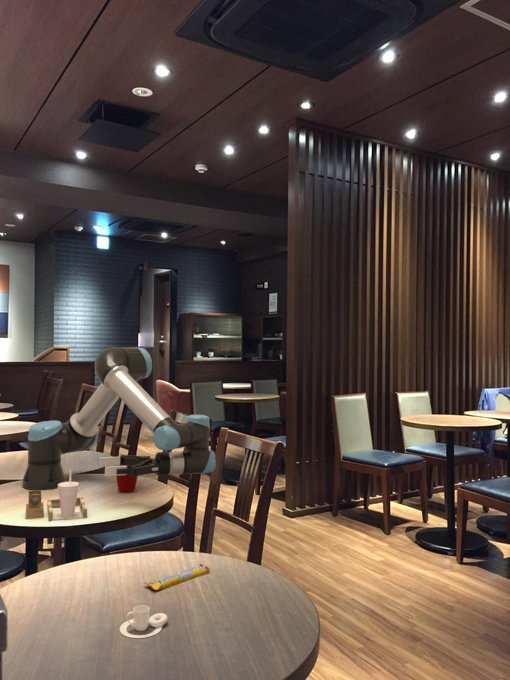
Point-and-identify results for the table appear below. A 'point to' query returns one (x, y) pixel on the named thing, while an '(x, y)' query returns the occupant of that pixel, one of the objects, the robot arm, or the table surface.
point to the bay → (56, 503)
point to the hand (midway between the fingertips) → (102, 466)
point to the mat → (59, 517)
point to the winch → (34, 505)
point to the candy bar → (178, 577)
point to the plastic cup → (126, 482)
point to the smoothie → (68, 497)
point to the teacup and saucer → (143, 621)
